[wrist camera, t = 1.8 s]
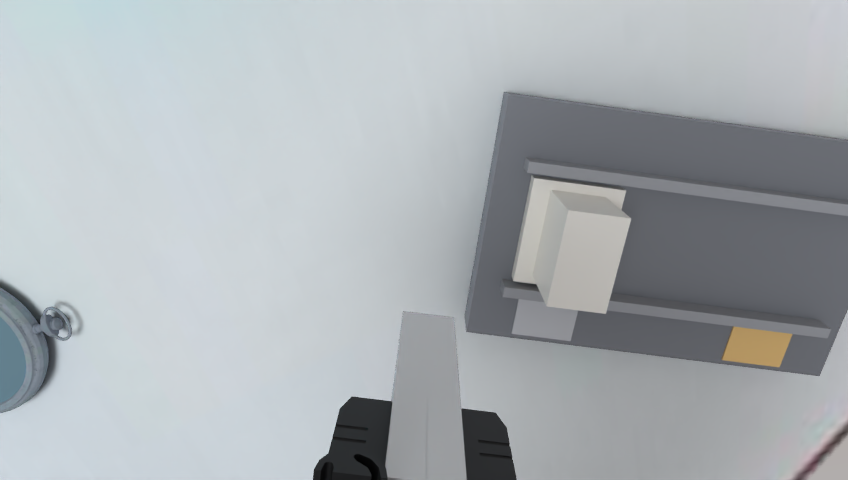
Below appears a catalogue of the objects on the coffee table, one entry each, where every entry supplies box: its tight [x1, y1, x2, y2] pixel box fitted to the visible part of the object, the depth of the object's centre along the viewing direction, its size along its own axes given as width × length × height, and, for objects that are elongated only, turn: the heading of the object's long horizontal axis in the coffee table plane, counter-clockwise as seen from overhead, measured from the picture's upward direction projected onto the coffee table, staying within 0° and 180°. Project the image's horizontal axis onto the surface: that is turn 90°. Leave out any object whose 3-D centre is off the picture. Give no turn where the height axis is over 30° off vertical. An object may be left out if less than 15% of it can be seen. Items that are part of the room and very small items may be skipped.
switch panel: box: [465, 92, 848, 376], centre depth 32 cm, size 14×22×3 cm, turn 82°
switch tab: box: [512, 175, 631, 314], centre depth 29 cm, size 6×5×5 cm
